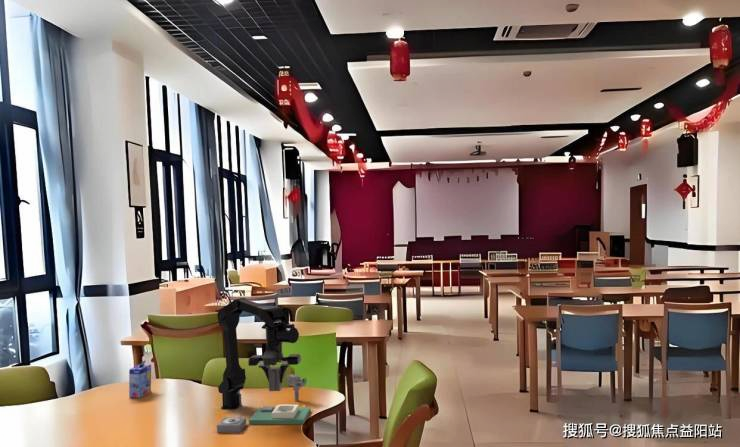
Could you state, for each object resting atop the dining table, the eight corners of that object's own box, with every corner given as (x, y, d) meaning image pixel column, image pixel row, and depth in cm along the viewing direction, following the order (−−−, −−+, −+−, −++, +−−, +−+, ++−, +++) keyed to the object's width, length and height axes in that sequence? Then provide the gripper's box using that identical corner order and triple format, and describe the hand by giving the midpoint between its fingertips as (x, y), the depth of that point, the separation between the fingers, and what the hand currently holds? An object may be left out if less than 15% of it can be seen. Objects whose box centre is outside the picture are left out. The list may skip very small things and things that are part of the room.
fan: (217, 432, 193) (216, 424, 193) (224, 424, 201) (224, 416, 201) (239, 432, 193) (239, 424, 193) (246, 424, 201) (246, 416, 201)
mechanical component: (303, 403, 222) (302, 378, 222) (285, 399, 228) (284, 375, 229) (308, 401, 225) (307, 377, 225) (290, 397, 231) (289, 373, 231)
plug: (268, 391, 204) (267, 370, 204) (272, 388, 209) (271, 366, 209) (279, 391, 203) (278, 369, 203) (282, 387, 208) (281, 366, 208)
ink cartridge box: (141, 398, 236) (140, 364, 236) (128, 398, 237) (127, 364, 237) (152, 391, 246) (151, 358, 246) (140, 391, 247) (139, 358, 247)
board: (248, 424, 200) (248, 414, 200) (259, 411, 214) (259, 402, 214) (303, 424, 199) (303, 414, 199) (310, 411, 213) (310, 402, 213)
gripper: (242, 346, 200) (244, 389, 199) (293, 344, 198) (295, 388, 198) (252, 340, 211) (253, 381, 210) (300, 338, 209) (302, 380, 209)
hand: (275, 382), depth 207 cm, fingers closed on plug, 4 cm apart
